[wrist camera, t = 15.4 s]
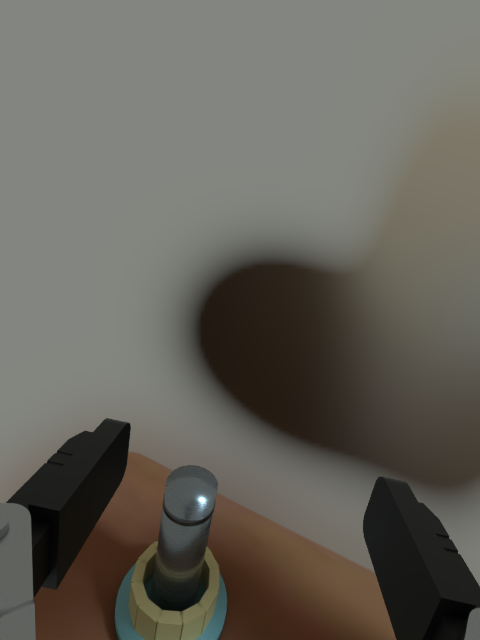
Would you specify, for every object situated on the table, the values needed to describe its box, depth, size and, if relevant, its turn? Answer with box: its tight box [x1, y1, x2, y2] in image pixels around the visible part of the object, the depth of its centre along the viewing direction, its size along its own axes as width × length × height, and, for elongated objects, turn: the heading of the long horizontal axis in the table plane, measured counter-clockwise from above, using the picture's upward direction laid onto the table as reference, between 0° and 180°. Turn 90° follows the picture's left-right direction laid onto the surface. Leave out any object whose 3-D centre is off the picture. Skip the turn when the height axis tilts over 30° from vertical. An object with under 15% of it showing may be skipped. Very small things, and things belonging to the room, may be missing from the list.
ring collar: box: [115, 541, 227, 640], centre depth 33 cm, size 11×11×4 cm
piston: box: [150, 465, 218, 612], centre depth 31 cm, size 5×5×14 cm
